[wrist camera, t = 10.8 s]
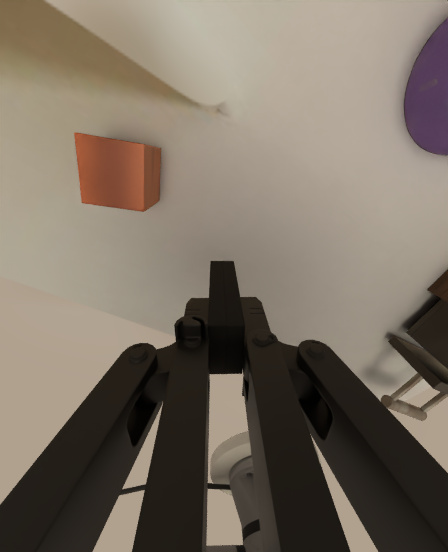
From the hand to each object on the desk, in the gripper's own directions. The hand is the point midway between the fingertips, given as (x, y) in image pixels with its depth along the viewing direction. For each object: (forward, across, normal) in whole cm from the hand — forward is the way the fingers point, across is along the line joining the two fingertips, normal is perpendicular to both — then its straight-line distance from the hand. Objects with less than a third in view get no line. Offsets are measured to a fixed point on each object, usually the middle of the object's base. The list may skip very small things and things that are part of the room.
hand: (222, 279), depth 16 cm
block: (+12, -8, +6) cm, 16 cm away
